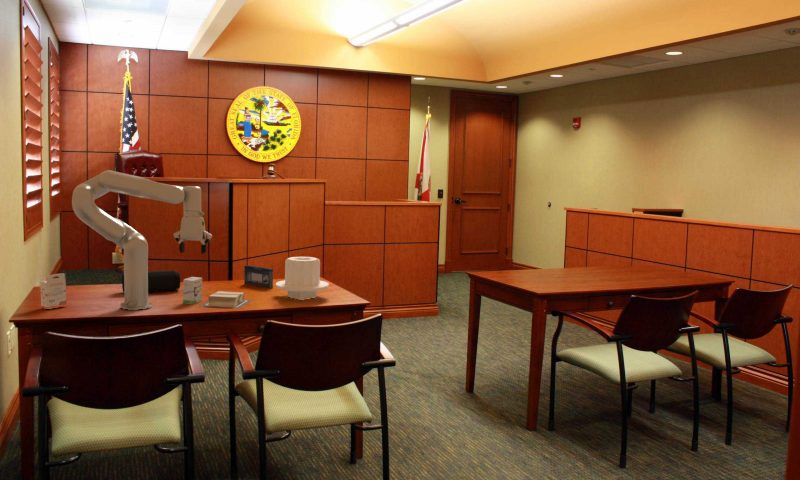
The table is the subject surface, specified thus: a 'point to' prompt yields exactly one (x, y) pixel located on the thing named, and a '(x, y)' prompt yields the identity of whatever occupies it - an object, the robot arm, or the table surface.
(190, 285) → the ink box
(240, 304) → the blueprint mat
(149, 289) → the portable speaker
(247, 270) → the vhs cassette tape
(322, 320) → the table surface
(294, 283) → the ribbed cylinder on disc
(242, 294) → the base block
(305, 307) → the table surface
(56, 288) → the ink cartridge box
